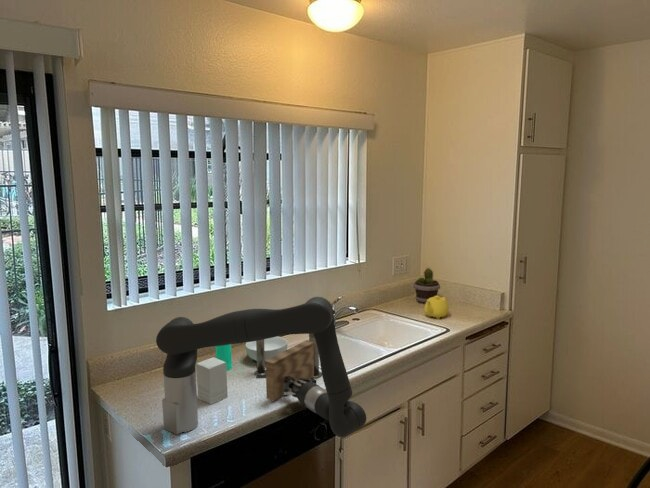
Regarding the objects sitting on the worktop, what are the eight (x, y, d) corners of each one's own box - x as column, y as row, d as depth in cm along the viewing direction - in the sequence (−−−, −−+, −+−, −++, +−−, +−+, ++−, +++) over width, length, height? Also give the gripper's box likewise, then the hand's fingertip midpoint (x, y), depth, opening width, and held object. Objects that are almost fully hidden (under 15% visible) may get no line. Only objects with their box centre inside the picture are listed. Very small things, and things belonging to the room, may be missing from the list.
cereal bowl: (263, 348, 216) (263, 332, 215) (295, 356, 208) (295, 339, 207) (237, 362, 202) (236, 345, 201) (270, 370, 193) (270, 353, 192)
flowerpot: (434, 306, 276) (436, 271, 273) (408, 302, 284) (409, 268, 281) (443, 300, 289) (444, 266, 285) (418, 296, 297) (419, 263, 293)
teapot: (435, 323, 249) (436, 302, 247) (416, 318, 257) (417, 297, 255) (454, 314, 262) (454, 294, 260) (435, 310, 270) (436, 291, 268)
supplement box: (228, 397, 172) (227, 362, 170) (210, 405, 167) (208, 368, 164) (215, 390, 177) (213, 356, 175) (197, 398, 171) (195, 362, 169)
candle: (228, 371, 193) (227, 341, 191) (213, 370, 194) (212, 340, 192) (234, 365, 199) (233, 336, 197) (219, 364, 200) (218, 335, 198)
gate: (307, 373, 188) (306, 340, 186) (314, 376, 186) (314, 342, 184) (265, 398, 169) (264, 360, 167) (273, 401, 167) (272, 363, 165)
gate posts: (321, 378, 186) (321, 331, 183) (252, 378, 187) (251, 330, 184) (322, 370, 193) (322, 324, 190) (255, 370, 194) (254, 324, 191)
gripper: (332, 381, 160) (302, 363, 174) (297, 392, 153) (269, 373, 167) (332, 403, 162) (303, 384, 176) (297, 415, 154) (269, 394, 168)
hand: (286, 378), depth 171 cm, fingers closed
